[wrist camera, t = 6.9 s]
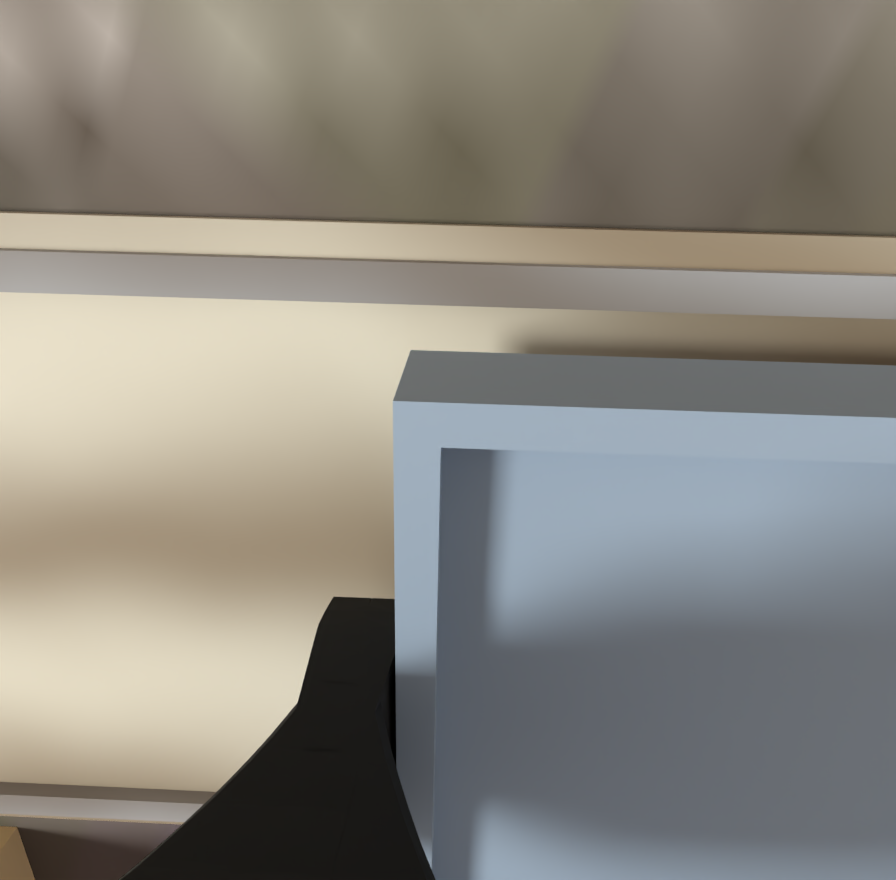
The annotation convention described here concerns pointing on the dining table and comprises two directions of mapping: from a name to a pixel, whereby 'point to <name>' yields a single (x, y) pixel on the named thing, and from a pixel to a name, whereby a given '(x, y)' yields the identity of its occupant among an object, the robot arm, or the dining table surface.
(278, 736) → the robot arm
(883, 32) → the dining table surface
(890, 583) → the blue square tray
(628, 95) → the dining table surface
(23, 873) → the ochre block
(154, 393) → the track
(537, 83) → the dining table surface
